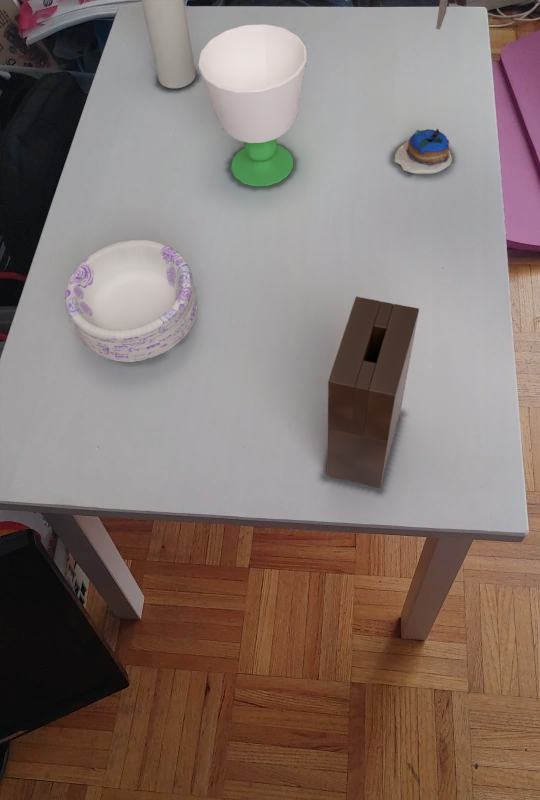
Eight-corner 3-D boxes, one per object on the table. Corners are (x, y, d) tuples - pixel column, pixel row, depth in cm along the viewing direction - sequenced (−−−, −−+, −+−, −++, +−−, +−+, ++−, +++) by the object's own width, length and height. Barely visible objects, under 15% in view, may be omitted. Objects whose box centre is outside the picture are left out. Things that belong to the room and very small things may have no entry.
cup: (203, 192, 99) (184, 86, 85) (229, 129, 105) (214, 19, 91) (298, 203, 97) (293, 96, 83) (318, 138, 103) (317, 27, 89)
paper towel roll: (187, 92, 110) (159, -64, 91) (152, 86, 111) (117, -68, 92) (204, 64, 113) (180, -92, 94) (170, 59, 114) (139, -97, 95)
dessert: (464, 145, 99) (455, 128, 93) (443, 191, 100) (433, 177, 95) (414, 130, 102) (403, 113, 96) (394, 175, 103) (382, 160, 98)
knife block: (326, 475, 77) (328, 381, 61) (349, 402, 82) (355, 296, 66) (380, 488, 76) (395, 396, 60) (400, 413, 80) (419, 308, 64)
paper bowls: (71, 305, 91) (50, 260, 84) (181, 268, 93) (170, 222, 86) (99, 394, 84) (79, 354, 77) (218, 353, 86) (209, 310, 79)
